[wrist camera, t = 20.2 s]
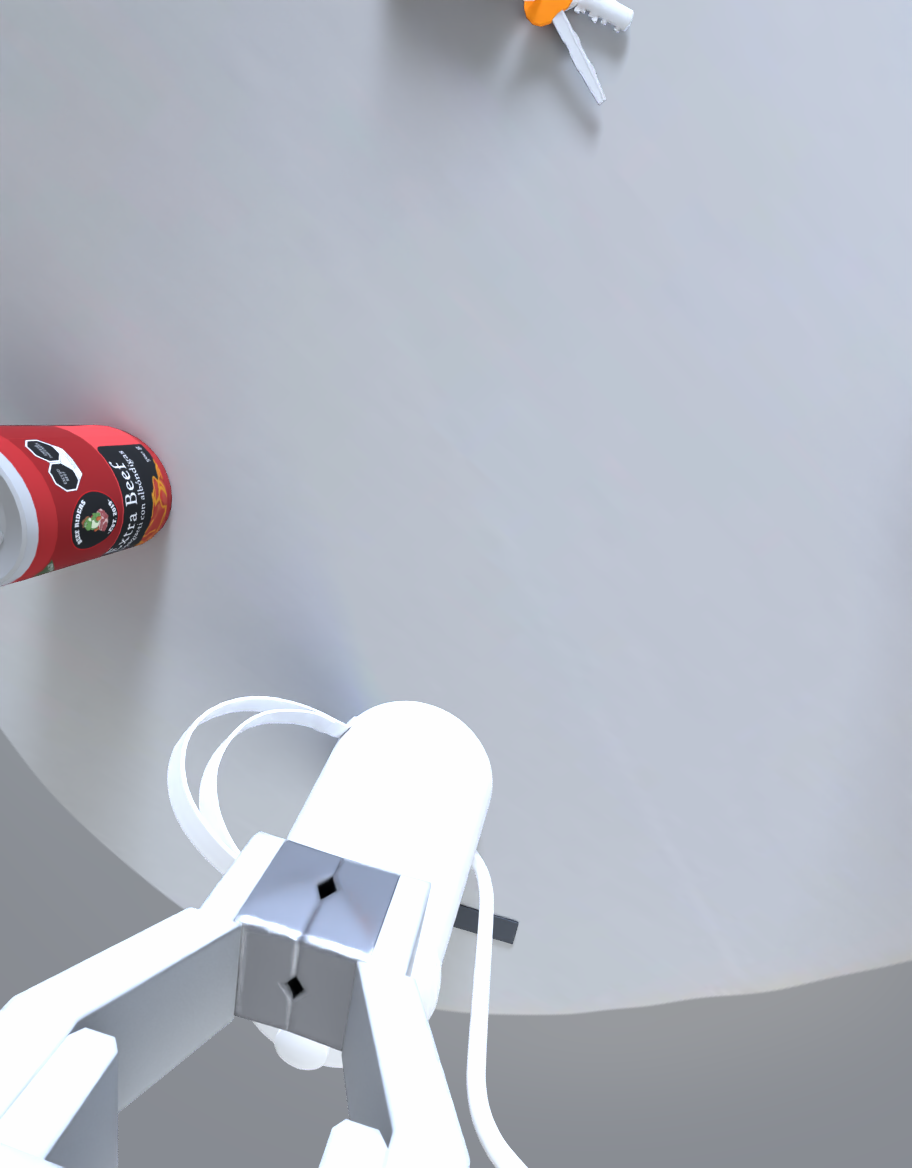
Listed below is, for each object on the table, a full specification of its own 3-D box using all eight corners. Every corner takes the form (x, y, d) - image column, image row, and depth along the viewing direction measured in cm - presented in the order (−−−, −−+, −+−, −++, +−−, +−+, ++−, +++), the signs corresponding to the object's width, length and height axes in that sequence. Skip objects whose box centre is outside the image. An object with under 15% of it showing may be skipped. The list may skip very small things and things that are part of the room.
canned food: (169, 560, 38) (23, 612, 28) (61, 523, 39) (-121, 561, 28) (184, 446, 36) (31, 456, 25) (69, 409, 36) (-127, 404, 26)
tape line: (518, 922, 41) (518, 923, 41) (512, 943, 42) (512, 944, 42) (284, 853, 43) (283, 854, 43) (281, 874, 44) (281, 875, 44)
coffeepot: (493, 929, 42) (447, 1305, 24) (240, 695, 40) (-13, 914, 22) (607, 851, 39) (651, 1220, 21) (336, 592, 37) (130, 753, 19)
